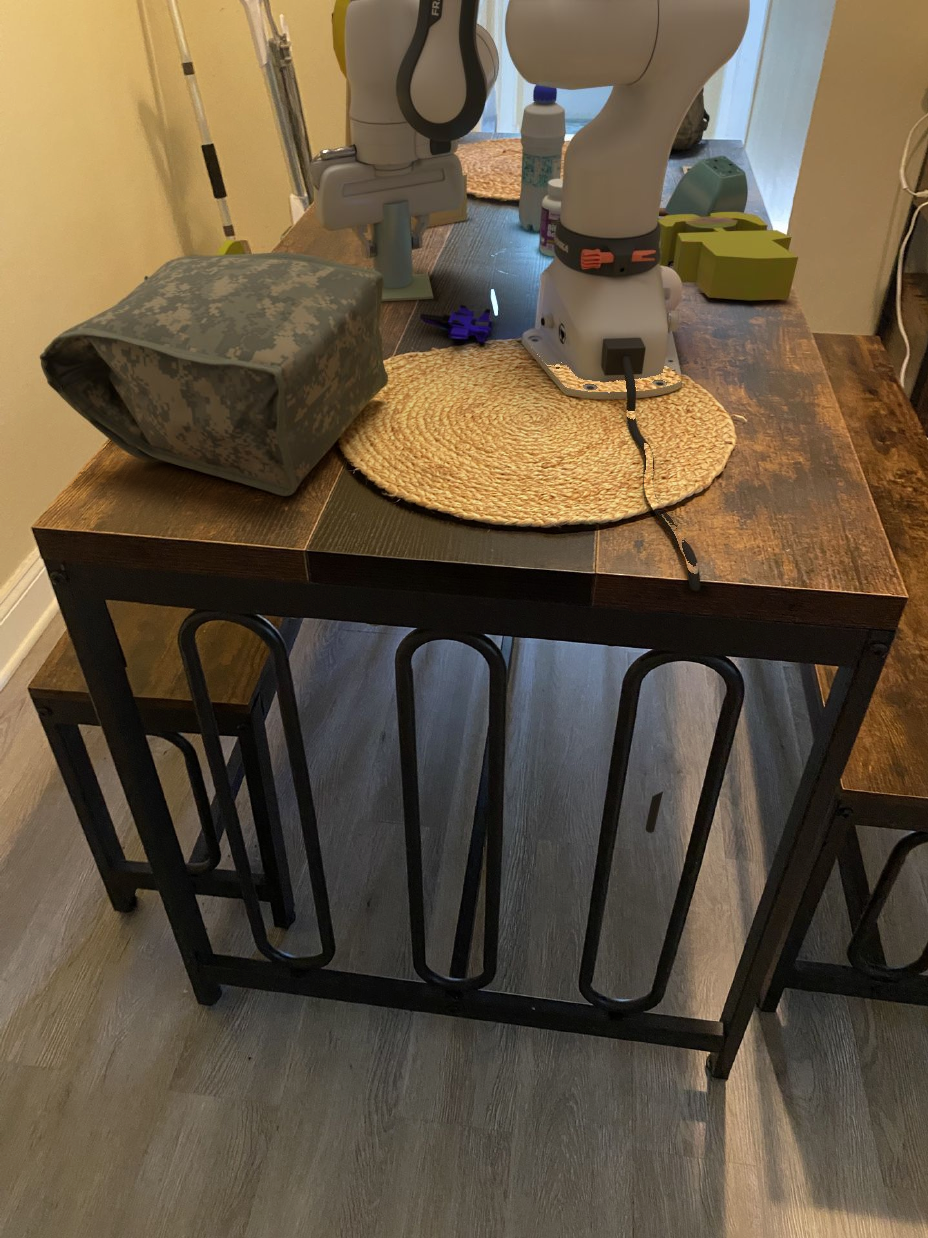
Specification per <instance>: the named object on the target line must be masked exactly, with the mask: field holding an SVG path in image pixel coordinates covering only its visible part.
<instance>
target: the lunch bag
mask: <svg viewBox="0 0 928 1238" xmlns="http://www.w3.org/2000/svg"><path fill="white" fill-rule="evenodd" d="M143 280H144V281H142V282H141V283H140V284H138V286H136V287H135V288H134V289H133V290H131V291H130V293H128V294H127V295H126V296H125V297H123V298H122V299H120V300H119V301H118V302H117V303H116V304H115V305H113V306H111V307H110V308H108V309H106V310H104V311H102V312H100V313H98V314H95V315H94V316H93V317H90V318H88V319H86V320H85V321H82V322H80V323H78V324H76V325H74V326H72V327H70V328H68V329H67V330H64V331H62V333H60V334H59V335H58V336H56V337H55V338H53V339H52V340H51V342H50V343H49V344H48V345H47V346H46V347H45V348H44V351H43V352H41V354H40V355H39V359H40V366H41V369H42V373H43V375H44V376H45V379H46V384H47V385H49V387H50V388H51V389H52V390H53V391H55V392H56V393H57V394H58V395H59V396H60V398H62V399H63V400H64V401H65V403H67V404H68V405H69V406H70V408H72V409H73V410H74V411H75V412H76V413H78V414H79V415H80V416H81V417H82V418H84V419H85V420H86V421H88V422H89V423H90V424H91V426H93V427H94V428H95V429H96V430H98V431H99V432H100V433H101V434H102V435H104V436H105V437H106V438H107V439H108V440H109V441H111V442H112V443H114V444H115V445H116V446H117V447H118V448H120V449H121V450H123V451H124V452H125V453H127V454H128V455H130V456H132V457H134V458H136V459H139V460H141V461H147V462H156V461H162V462H166V463H169V464H172V465H175V466H179V467H183V468H186V469H190V470H193V471H197V472H200V473H203V474H206V475H211V476H214V477H218V478H222V479H224V480H229V481H232V482H236V483H239V484H243V485H246V486H248V487H249V486H250V487H253V488H256V489H259V490H263V491H266V492H268V493H272V494H275V495H278V496H281V497H289V496H292V495H293V494H294V493H295V492H296V491H297V489H298V487H299V486H300V484H301V483H302V481H304V479H305V478H306V477H307V476H308V474H309V473H310V472H311V471H312V469H313V468H314V467H316V465H318V463H320V461H321V460H322V458H324V456H325V455H326V454H327V453H328V452H329V451H330V449H331V448H332V447H333V446H334V444H335V443H336V442H337V441H338V439H339V438H340V437H341V436H342V435H343V433H344V432H345V431H346V430H347V429H348V428H349V427H350V425H351V424H352V423H353V421H354V420H355V419H356V418H357V417H358V415H359V414H360V413H361V412H362V410H363V409H364V408H365V407H367V405H368V404H369V402H371V401H372V400H373V399H374V398H375V397H376V395H377V394H379V393H380V392H381V390H382V389H383V388H385V387H386V386H387V384H388V382H389V375H388V373H387V371H386V368H385V364H384V359H383V358H384V356H383V336H382V334H381V331H380V319H381V314H382V303H383V301H382V289H383V285H384V283H383V276H382V274H381V273H379V272H377V271H375V270H374V269H373V268H364V267H361V266H358V265H353V264H348V263H344V262H339V261H334V260H330V259H327V258H324V257H320V256H315V255H309V254H302V253H294V252H293V253H291V252H280V251H279V252H261V253H245V254H236V255H215V254H214V255H202V254H190V255H186V256H180V257H176V258H173V259H170V260H169V261H166V262H165V263H164V264H162V265H161V266H160V267H159V268H157V270H156V271H155V272H154V273H153V274H151V275H150V276H148V275H145V276H144V277H143ZM351 422H352V423H351ZM350 423H351V424H350ZM346 428H347V429H346ZM345 429H346V430H345ZM344 430H345V431H344ZM340 435H341V436H340ZM339 436H340V437H339Z"/></svg>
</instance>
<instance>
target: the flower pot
mask: <svg viewBox="0 0 928 1238" xmlns="http://www.w3.org/2000/svg"><path fill="white" fill-rule="evenodd" d="M692 166H693V167H692V168H690V169H689V170H688V171H687V172H686V174H685V175H684V174H683V176H682V177H681V178H680V179H679V181H678V183H677V185H676V187H675V188H674V190H673V192H672V194H671V196H670V198H669V200H668V202H667V204H666V206H665V207H664V208H665V212H666V213H667V214H668V215H679V214H694V215H697V216H700V217H709V216H710V214H711V213H718V212H741V213H745V211H746V206H747V202H748V196H749V195H748V193H749V192H748V191H749V188H748V180H747V173H746V172H745V171H744V169H741V168H740V167H739V165H737V164H736V163H734V162H733V161H732V160H731V159H730V158H728V157H727V156H725V155H719V156H713V157H709V158H702V159H700V160H699V161H697V162H696V163H695V164H694V165H692Z"/></svg>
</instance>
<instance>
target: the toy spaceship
mask: <svg viewBox="0 0 928 1238" xmlns="http://www.w3.org/2000/svg"><path fill="white" fill-rule="evenodd" d="M491 311H492V309H489V308H486V309H485V311H483V312H482V314H481V315H480V317H479V318H477V317H474V316H475V310H470V308H468V307H467V306H466V305H465V304H460V305H459V308H458V310H457V311H451V313H450V314H442V315H437V314H429V313H420V315H419V319H420V320H421V321H422V322H423V323H426V324H429V325H432V326H434V327H436V328H439V329H441V330H444V331H446V332H447V333H448V336H447V338H449V339H451V340H468V339H469V337H472V336H475V339H476V340H477V344H478V346H479V347H481V348H484V347H485V343H486V337H488V336H489V335H491V329H492V327H493V322H492V321H491V320H490V318H491Z"/></svg>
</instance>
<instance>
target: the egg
mask: <svg viewBox="0 0 928 1238" xmlns="http://www.w3.org/2000/svg"><path fill="white" fill-rule="evenodd" d="M661 267H662V268H663V270H662V281H663V288H670V291H671V292H670V299H669V300H665V305H666V311H667V310H676V309H677V308H678V306H679V304H680V302H681V300H682V297H683V282H681V280H680V277H679V276H678V274H677V273H676V272H675V271H674V270H673V268H671V267H669V266H661Z"/></svg>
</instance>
